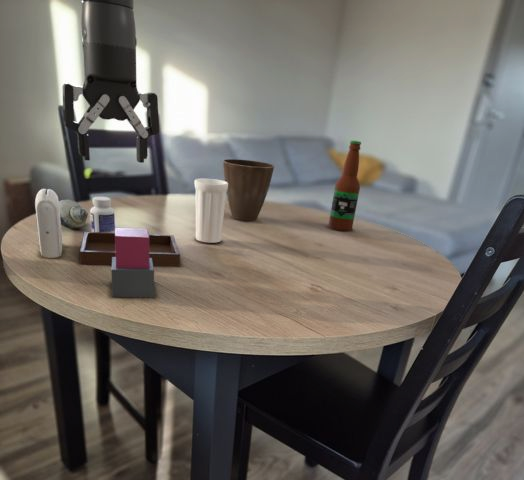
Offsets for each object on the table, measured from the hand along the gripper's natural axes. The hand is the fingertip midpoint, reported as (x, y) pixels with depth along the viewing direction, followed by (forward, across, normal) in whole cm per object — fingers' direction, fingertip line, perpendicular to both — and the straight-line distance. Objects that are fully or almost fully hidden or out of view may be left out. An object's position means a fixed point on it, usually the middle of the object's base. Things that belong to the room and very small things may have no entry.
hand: (113, 160), depth 78 cm
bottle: (+22, -75, -36) cm, 86 cm away
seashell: (+22, +3, -41) cm, 47 cm away
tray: (+22, -6, -18) cm, 29 cm away
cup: (+22, -28, -27) cm, 44 cm away
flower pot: (+22, -48, -49) cm, 72 cm away
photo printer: (+22, +9, -22) cm, 32 cm away
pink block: (+16, -2, +3) cm, 17 cm away
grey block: (+22, -2, +3) cm, 22 cm away
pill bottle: (+22, -3, -32) cm, 39 cm away
